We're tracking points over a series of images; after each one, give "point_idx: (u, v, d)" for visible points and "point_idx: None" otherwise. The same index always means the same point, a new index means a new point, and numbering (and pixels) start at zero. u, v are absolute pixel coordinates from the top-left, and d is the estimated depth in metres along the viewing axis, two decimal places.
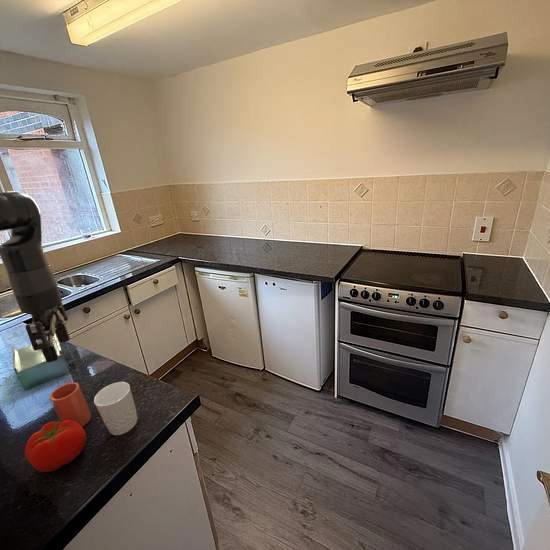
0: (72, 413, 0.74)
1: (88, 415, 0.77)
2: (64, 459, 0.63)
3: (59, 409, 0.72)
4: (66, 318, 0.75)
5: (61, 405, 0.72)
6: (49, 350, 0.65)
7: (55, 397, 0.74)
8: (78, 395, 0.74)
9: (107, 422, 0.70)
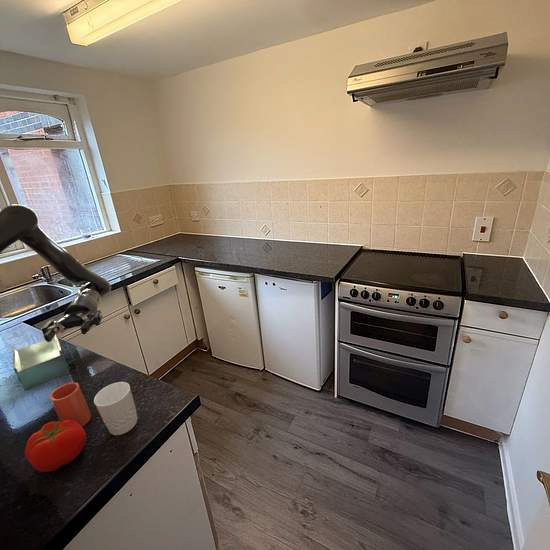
0: (72, 413, 0.74)
1: (88, 415, 0.77)
2: (64, 459, 0.63)
3: (59, 409, 0.72)
4: None
5: (61, 405, 0.72)
6: (90, 326, 0.85)
7: (55, 397, 0.74)
8: (78, 395, 0.74)
9: (107, 422, 0.70)
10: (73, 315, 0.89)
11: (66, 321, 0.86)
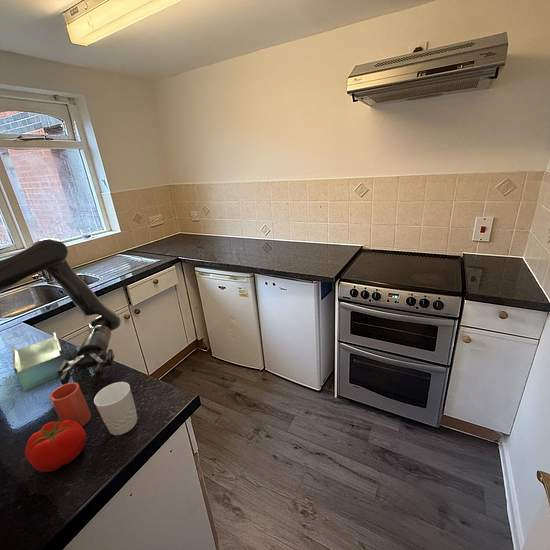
0: (72, 413, 0.74)
1: (88, 415, 0.77)
2: (64, 459, 0.63)
3: (59, 409, 0.72)
4: None
5: (61, 405, 0.72)
6: (103, 368, 0.88)
7: (55, 397, 0.74)
8: (78, 395, 0.74)
9: (107, 422, 0.70)
10: (86, 355, 0.93)
11: (80, 362, 0.89)
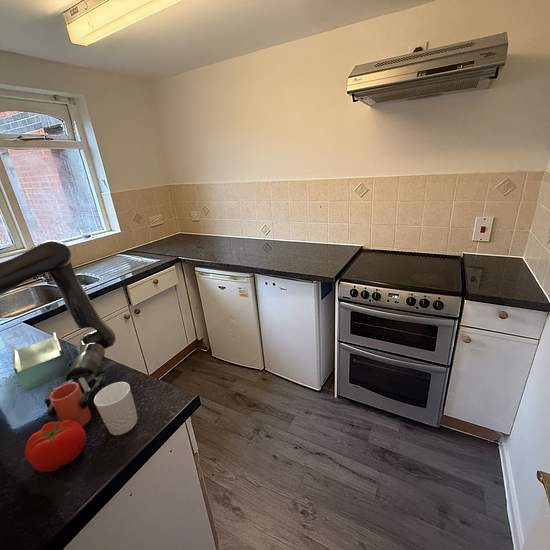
0: (72, 413, 0.74)
1: (88, 415, 0.77)
2: (64, 459, 0.63)
3: (59, 409, 0.72)
4: None
5: (61, 405, 0.72)
6: (90, 398, 0.77)
7: (55, 397, 0.74)
8: (78, 395, 0.74)
9: (107, 422, 0.70)
10: (76, 380, 0.82)
11: None
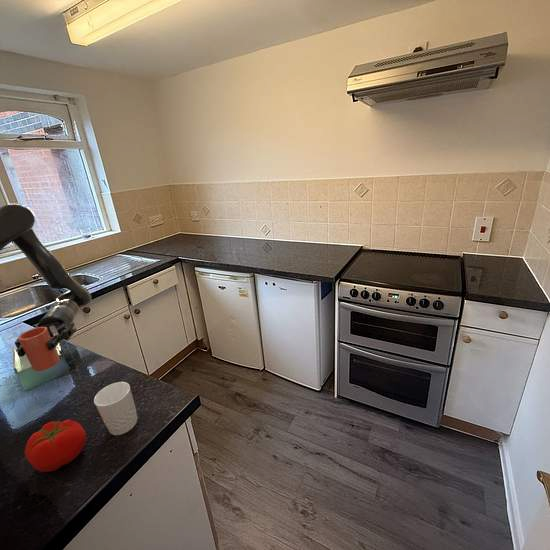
0: (40, 354, 0.78)
1: (56, 358, 0.82)
2: (64, 459, 0.63)
3: (27, 348, 0.77)
4: None
5: (29, 344, 0.77)
6: (58, 341, 0.82)
7: (24, 339, 0.79)
8: (46, 337, 0.79)
9: (107, 422, 0.70)
10: (47, 327, 0.87)
11: None
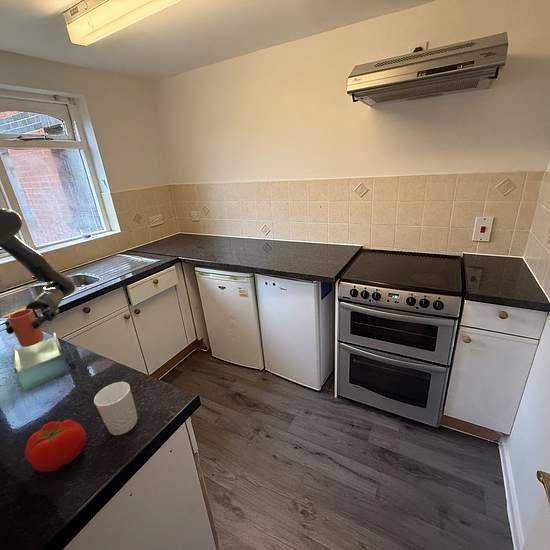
0: (26, 331, 0.91)
1: (41, 336, 0.95)
2: (64, 459, 0.63)
3: (15, 327, 0.90)
4: None
5: (16, 323, 0.90)
6: (42, 322, 0.95)
7: None
8: (31, 317, 0.92)
9: (107, 422, 0.70)
10: (33, 310, 1.00)
11: None
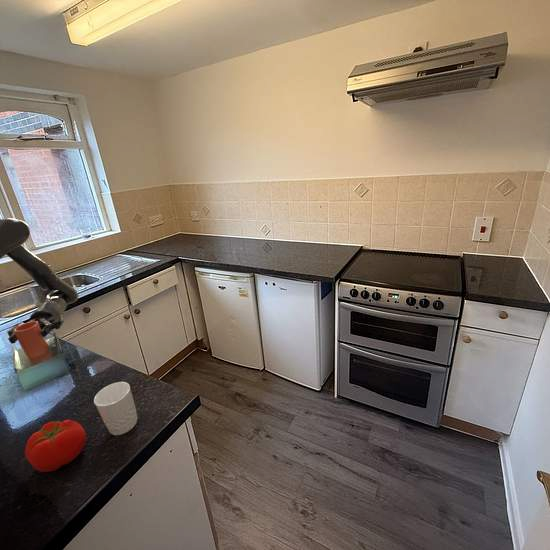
0: (32, 343, 0.94)
1: (46, 347, 0.97)
2: (64, 459, 0.63)
3: (21, 339, 0.92)
4: None
5: (22, 335, 0.92)
6: (50, 330, 0.98)
7: (19, 331, 0.94)
8: (37, 329, 0.94)
9: (107, 422, 0.70)
10: (37, 320, 1.02)
11: None
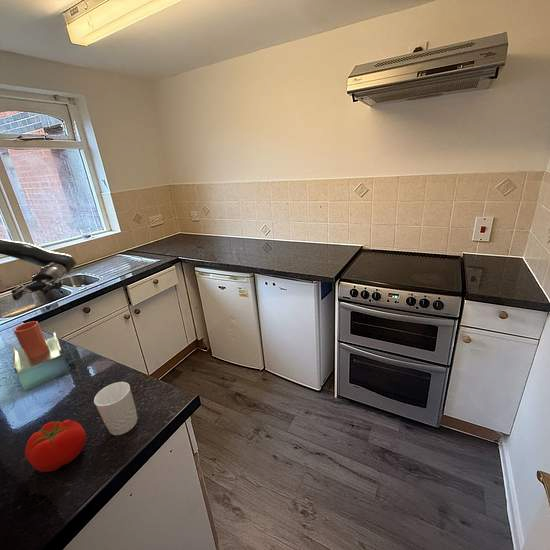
0: (32, 343, 0.94)
1: (46, 347, 0.97)
2: (64, 459, 0.63)
3: (21, 339, 0.92)
4: None
5: (22, 335, 0.92)
6: (51, 289, 1.04)
7: (19, 331, 0.94)
8: (37, 329, 0.94)
9: (107, 422, 0.70)
10: (39, 282, 1.08)
11: (32, 285, 1.05)
